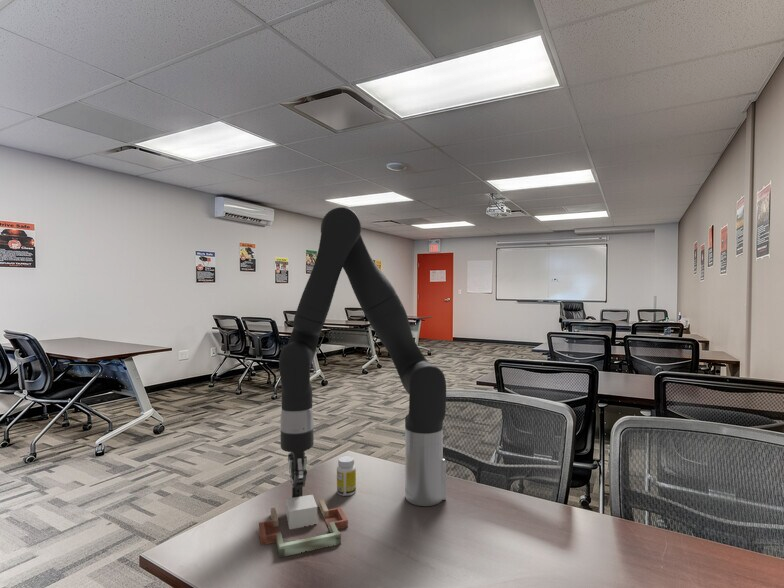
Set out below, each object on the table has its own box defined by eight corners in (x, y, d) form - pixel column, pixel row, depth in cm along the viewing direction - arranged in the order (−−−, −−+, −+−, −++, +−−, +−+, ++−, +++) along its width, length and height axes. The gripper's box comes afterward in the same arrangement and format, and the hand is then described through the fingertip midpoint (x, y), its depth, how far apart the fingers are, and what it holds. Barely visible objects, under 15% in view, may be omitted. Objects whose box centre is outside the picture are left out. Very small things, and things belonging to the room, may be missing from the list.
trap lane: (335, 502, 103) (335, 494, 103) (355, 540, 87) (355, 531, 87) (256, 517, 97) (256, 508, 97) (263, 561, 81) (263, 550, 81)
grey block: (312, 511, 99) (312, 494, 99) (317, 524, 94) (317, 506, 94) (286, 516, 97) (286, 498, 97) (289, 530, 92) (289, 511, 92)
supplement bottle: (357, 488, 111) (357, 455, 111) (354, 496, 106) (353, 462, 106) (339, 487, 111) (339, 455, 111) (335, 496, 107) (334, 462, 107)
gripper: (318, 433, 95) (318, 512, 95) (308, 417, 107) (308, 486, 107) (283, 437, 92) (283, 518, 92) (277, 420, 105) (277, 491, 105)
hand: (297, 501), depth 100 cm, fingers closed
